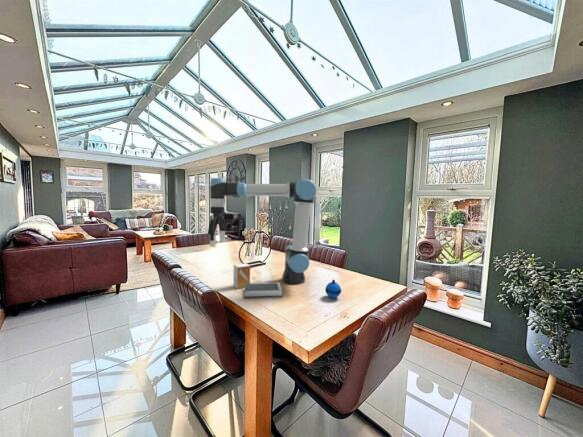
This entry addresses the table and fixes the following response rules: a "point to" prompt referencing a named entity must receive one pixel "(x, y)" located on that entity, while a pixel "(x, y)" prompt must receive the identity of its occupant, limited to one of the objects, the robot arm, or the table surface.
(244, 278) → the small box
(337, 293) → the ornament
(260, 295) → the grey rectangular tray
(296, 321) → the table surface
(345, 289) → the table surface
